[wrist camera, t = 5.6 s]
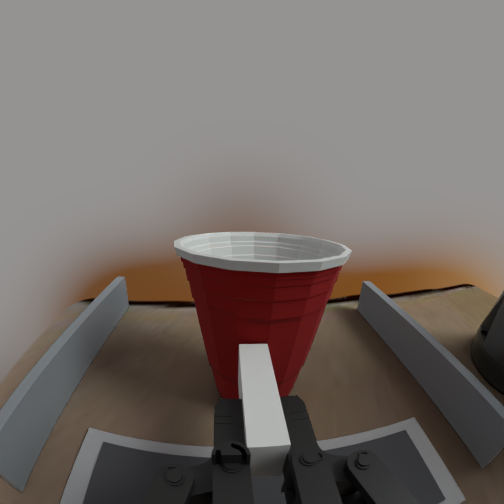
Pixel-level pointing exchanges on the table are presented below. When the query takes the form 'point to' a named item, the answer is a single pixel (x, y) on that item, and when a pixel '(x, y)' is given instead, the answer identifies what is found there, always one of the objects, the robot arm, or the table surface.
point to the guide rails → (116, 304)
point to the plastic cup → (259, 297)
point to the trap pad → (264, 488)
